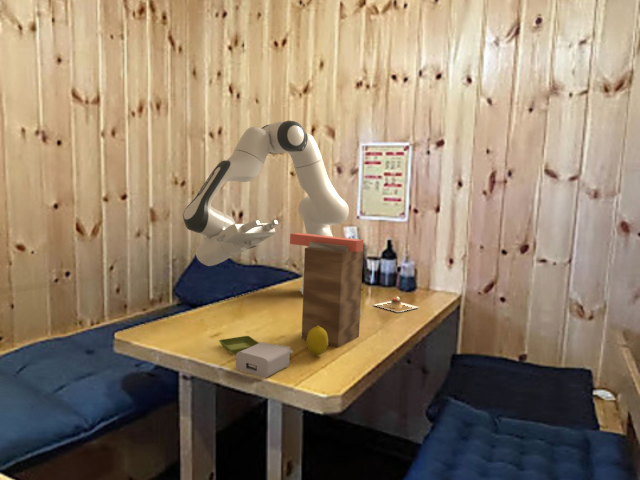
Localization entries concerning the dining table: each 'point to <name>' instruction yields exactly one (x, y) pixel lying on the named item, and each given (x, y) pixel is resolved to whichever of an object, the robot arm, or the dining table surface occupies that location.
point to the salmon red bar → (326, 241)
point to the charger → (263, 359)
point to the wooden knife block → (332, 292)
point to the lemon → (317, 340)
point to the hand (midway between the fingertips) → (267, 222)
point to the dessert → (396, 305)
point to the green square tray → (238, 343)
